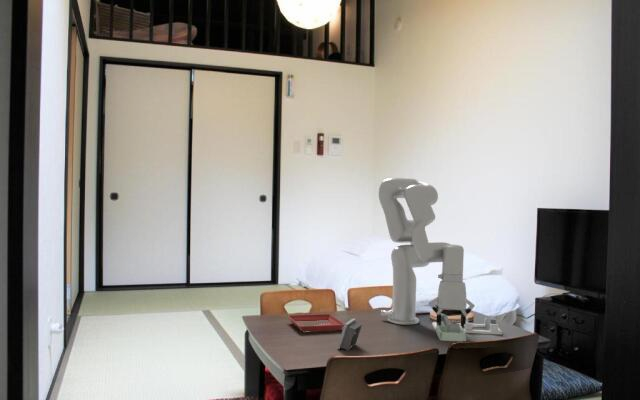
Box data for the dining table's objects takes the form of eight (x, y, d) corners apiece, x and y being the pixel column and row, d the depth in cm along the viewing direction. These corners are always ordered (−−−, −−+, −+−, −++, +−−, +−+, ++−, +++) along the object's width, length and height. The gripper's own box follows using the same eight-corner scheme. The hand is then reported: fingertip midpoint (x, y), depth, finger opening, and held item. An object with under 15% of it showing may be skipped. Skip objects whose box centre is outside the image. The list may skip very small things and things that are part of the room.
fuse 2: (490, 332, 207) (490, 319, 207) (486, 328, 214) (486, 315, 214) (495, 332, 207) (495, 319, 207) (491, 328, 214) (491, 316, 213)
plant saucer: (329, 321, 220) (329, 313, 220) (345, 332, 203) (345, 323, 203) (287, 323, 214) (287, 315, 214) (299, 335, 197) (299, 326, 197)
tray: (440, 340, 194) (440, 332, 194) (436, 332, 205) (436, 324, 205) (466, 341, 193) (466, 333, 193) (460, 333, 204) (460, 326, 204)
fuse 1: (440, 330, 209) (440, 317, 209) (438, 325, 215) (438, 313, 215) (445, 330, 209) (445, 317, 209) (443, 326, 215) (443, 313, 215)
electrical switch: (346, 342, 187) (349, 316, 187) (360, 346, 186) (363, 320, 185) (336, 349, 179) (339, 322, 178) (351, 353, 177) (354, 326, 176)
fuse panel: (435, 331, 207) (436, 321, 207) (432, 324, 218) (432, 315, 218) (502, 334, 204) (502, 325, 204) (495, 327, 216) (495, 318, 216)
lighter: (455, 334, 201) (456, 312, 201) (458, 335, 200) (459, 313, 200) (440, 335, 198) (441, 314, 198) (443, 336, 197) (444, 315, 197)
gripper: (429, 278, 196) (428, 326, 196) (478, 280, 194) (476, 329, 194) (427, 275, 203) (426, 321, 203) (474, 277, 202) (472, 324, 202)
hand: (450, 325), depth 199 cm, fingers open, 7 cm apart
